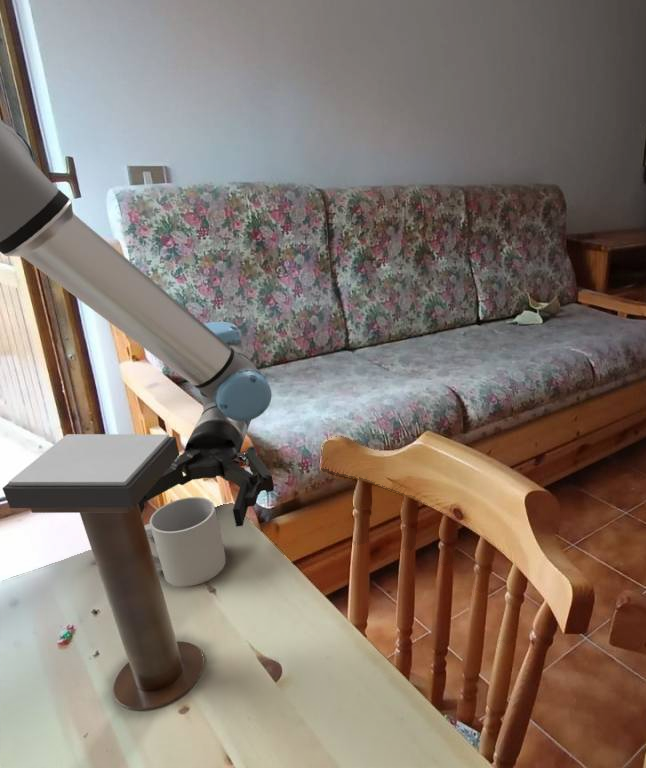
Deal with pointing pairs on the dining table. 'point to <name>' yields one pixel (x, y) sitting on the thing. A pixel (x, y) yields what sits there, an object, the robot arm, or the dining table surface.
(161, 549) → the cup
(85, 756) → the dining table surface
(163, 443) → the scale
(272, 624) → the dining table surface
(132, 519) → the stand
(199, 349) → the robot arm
